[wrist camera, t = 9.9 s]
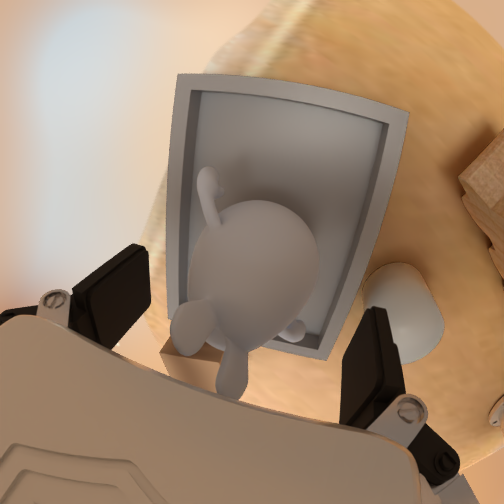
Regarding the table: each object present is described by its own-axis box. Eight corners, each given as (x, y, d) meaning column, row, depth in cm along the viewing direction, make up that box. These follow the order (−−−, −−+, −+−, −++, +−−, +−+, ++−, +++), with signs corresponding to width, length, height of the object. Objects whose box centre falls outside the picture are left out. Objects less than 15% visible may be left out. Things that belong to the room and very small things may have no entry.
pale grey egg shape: (433, 270, 17) (457, 311, 13) (407, 323, 20) (420, 368, 15) (375, 255, 18) (389, 296, 14) (352, 311, 20) (356, 359, 16)
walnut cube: (237, 319, 23) (218, 362, 19) (244, 359, 25) (230, 401, 21) (184, 314, 24) (159, 352, 20) (196, 353, 26) (176, 391, 22)
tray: (398, 113, 14) (409, 112, 12) (327, 341, 22) (326, 360, 20) (193, 77, 15) (177, 73, 13) (179, 303, 24) (168, 318, 22)
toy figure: (192, 179, 18) (48, 265, 7) (275, 132, 15) (173, 156, 5) (269, 306, 21) (218, 452, 10) (347, 278, 18) (354, 444, 8)
